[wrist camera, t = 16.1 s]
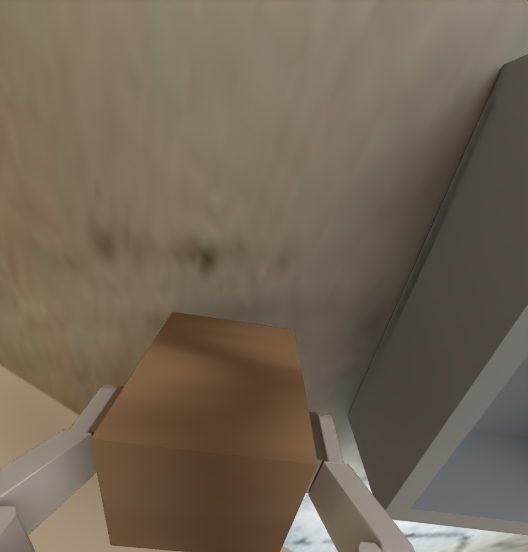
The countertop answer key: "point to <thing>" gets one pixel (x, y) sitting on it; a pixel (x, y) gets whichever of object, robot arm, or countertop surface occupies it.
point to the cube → (208, 440)
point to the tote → (460, 345)
